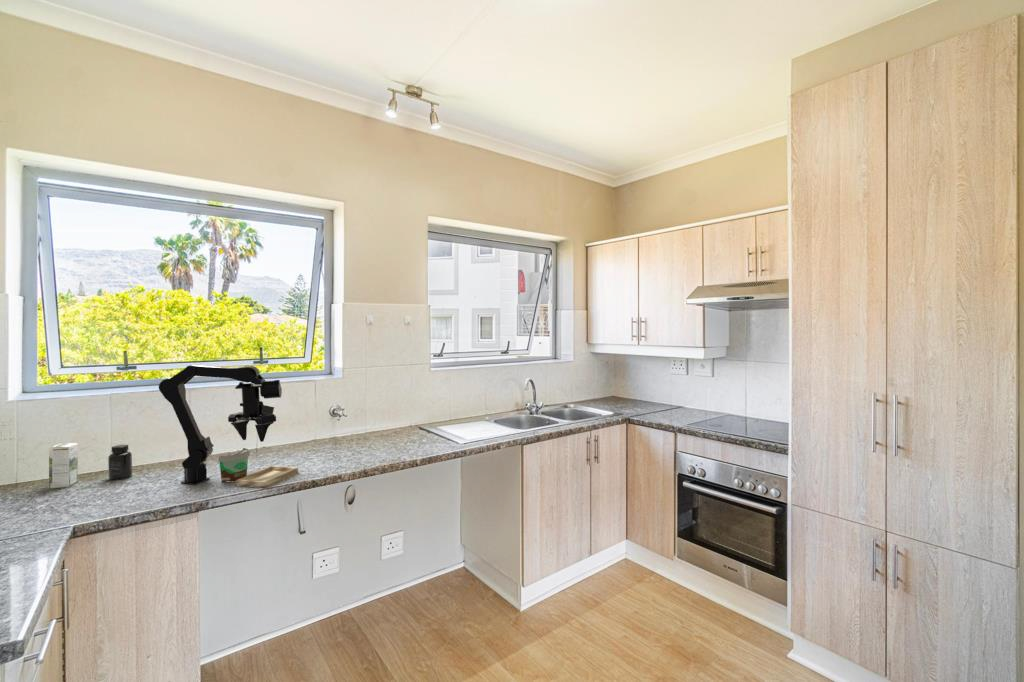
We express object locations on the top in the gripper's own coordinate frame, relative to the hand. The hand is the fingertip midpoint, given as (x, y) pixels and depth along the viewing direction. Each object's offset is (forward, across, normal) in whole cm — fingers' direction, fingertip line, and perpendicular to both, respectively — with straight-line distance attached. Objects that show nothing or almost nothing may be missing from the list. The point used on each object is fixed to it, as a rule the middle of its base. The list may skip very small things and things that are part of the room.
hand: (253, 440), depth 176 cm
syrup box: (+12, +54, +33) cm, 64 cm away
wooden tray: (+14, -7, 0) cm, 16 cm away
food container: (+14, +3, +4) cm, 15 cm away
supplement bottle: (+12, +45, +20) cm, 51 cm away
